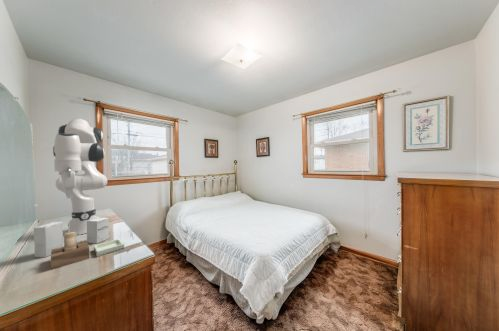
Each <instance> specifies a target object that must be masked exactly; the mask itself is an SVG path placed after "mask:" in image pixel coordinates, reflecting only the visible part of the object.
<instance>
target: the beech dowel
mask: <svg viewBox="0 0 499 331" xmlns="http://www.w3.org/2000/svg"><path fill="white" fill-rule="evenodd" d="M76 243H77V235H76V232H71V233H67V234H65V233H63V247H64V252H66V251H69V250H73V249H76Z"/></svg>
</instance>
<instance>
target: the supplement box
mask: <svg viewBox="0 0 499 331" xmlns="http://www.w3.org/2000/svg"><path fill="white" fill-rule="evenodd" d="M109 220H110V218H109V217H99V218H96V219H93V220H89V221H87V233H86V241H87V243H88V244H100V243H101V242H103V241H106V240H108V239H110V222H109Z"/></svg>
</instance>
